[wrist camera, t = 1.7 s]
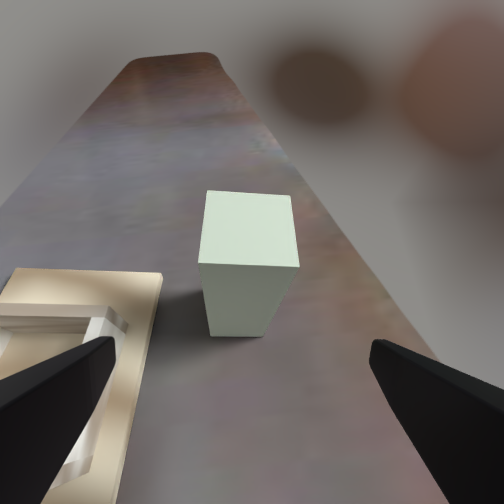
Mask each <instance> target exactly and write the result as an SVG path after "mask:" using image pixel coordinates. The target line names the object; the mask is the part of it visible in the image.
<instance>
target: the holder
mask: <svg viewBox="0 0 504 504" xmlns="http://www.w3.org/2000/svg"><path fill="white" fill-rule="evenodd" d="M162 280H163V277H162V275H161V273H145V272H117V271H89V270H61V269H33V268H16V269H15V271H14V273H13V274H12V276H11V278H10V279H9V281H8V283H7V285H6V286H5V288H4V290H3V291H2V293H1V295H0V380H1V379H3V378H6V377H8V376H10V375H13V374H15V373H17V372H19V371H22V370H24V369H26V368H29V367H31V366H33V365H35V364H38V363H40V362H42V361H45V360H47V359H49V358H51V357H54V356H56V355H58V354H61V353H63V352H65V351H67V350H70V349H72V348H74V347H77V346H79V345H81V344H83V343H86V342H88V341H90V340H93V339H95V338H97V337H100V336H112V337H114V339H115V348H116V363H115V366H114V369H113V371H112V373H111V375H110V378H109V380H108V382H107V384H106V386H105V388H104V391H103V393H102V395H101V397H100V399H99V402H98V404H97V406H96V408H95V410H94V412H93V414H92V416H91V418H90V419H89V421H88V423H87V425H86V426H85V428H84V430H83V431H82V433H81V435H80V437H79V438H78V440H77V442H76V444H75V445H74V447H73V449H72V450H71V452H70V454H69V456H68V457H67V459H66V461H65V462H64V464H63V466H62V468H61V469H60V471H59V473H58V475H57V476H56V478H55V480H54V481H53V483H52V485H51V487H50V488H49V490H48V492H47V493H46V495H45V497H44V499H43V500H42V502H41V504H116V499H117V494H118V489H119V485H120V480H121V475H122V470H123V466H124V461H125V456H126V451H127V447H128V442H129V437H130V432H131V428H132V423H133V418H134V413H135V409H136V404H137V399H138V394H139V390H140V385H141V380H142V375H143V371H144V366H145V361H146V356H147V352H148V347H149V342H150V337H151V333H152V328H153V323H154V318H155V314H156V309H157V304H158V299H159V295H160V290H161V285H162Z"/></svg>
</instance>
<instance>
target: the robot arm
mask: <svg viewBox="0 0 504 504" xmlns="http://www.w3.org/2000/svg"><path fill="white" fill-rule="evenodd" d="M115 363H116V348H115V339H114V337H112V336H100V337H97V338H95V339H93V340H90V341H88V342H86V343H83V344H81V345H79V346H77V347H74V348H72V349H70V350H67V351H65V352H63V353H61V354H58V355H56V356H54V357H51V358H49V359H47V360H45V361H42V362H40V363H38V364H35V365H33V366H31V367H29V368H26V369H24V370H22V371H19V372H17V373H15V374H13V375H10V376H8V377H6V378H3V379H1V380H0V504H41V502H42V500H43V499H44V497H45V495H46V493H47V492H48V490H49V488H50V487H51V485H52V483H53V481H54V480H55V478H56V476H57V475H58V473H59V471H60V469H61V468H62V466H63V464H64V462H65V461H66V459H67V457H68V456H69V454H70V452H71V450H72V449H73V447H74V445H75V444H76V442H77V440H78V438H79V437H80V435H81V433H82V431H83V430H84V428H85V426H86V425H87V423H88V421H89V419H90V418H91V416H92V414H93V412H94V410H95V408H96V406H97V404H98V402H99V399H100V397H101V395H102V393H103V391H104V388H105V386H106V384H107V382H108V380H109V378H110V375H111V373H112V371H113V369H114V366H115ZM369 364H370V367H371V369H372V371H373V373H374V375H375V377H376V379H377V381H378V383H379V385H380V387H381V389H382V391H383V393H384V395H385V397H386V399H387V401H388V403H389V405H390V407H391V409H392V411H393V412H394V414H395V416H396V417H397V419H398V421H399V422H400V424H401V425H402V427H403V429H404V430H405V432H406V434H407V435H408V437H409V439H410V440H411V442H412V443H413V445H414V447H415V448H416V450H417V452H418V453H419V455H420V456H421V458H422V460H423V461H424V463H425V465H426V466H427V468H428V470H429V471H430V473H431V474H432V476H433V478H434V479H435V481H436V483H437V484H438V486H439V487H440V489H441V491H442V492H443V494H444V496H445V497H446V499H447V500H448V502H449V504H504V390H503V389H501V388H498V387H496V386H494V385H491V384H489V383H487V382H484V381H482V380H480V379H477V378H475V377H472V376H470V375H468V374H465V373H463V372H460V371H458V370H456V369H454V368H451V367H449V366H447V365H444V364H442V363H440V362H437V361H435V360H433V359H430V358H428V357H426V356H423V355H421V354H419V353H416V352H414V351H412V350H409V349H407V348H404V347H402V346H400V345H397V344H395V343H393V342H390V341H388V340H385V339H375V340H373V342H372V346H371V351H370V357H369Z"/></svg>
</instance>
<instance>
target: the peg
mask: <svg viewBox="0 0 504 504" xmlns="http://www.w3.org/2000/svg"><path fill="white" fill-rule="evenodd" d="M198 265H199V271H200V277H201V283H202V289H203V295H204V301H205V307H206V313H207V319H208V324H209V330H210V336H228V337H263V336H264V334H265V332H266V330H267V328H268V326H269V324H270V322H271V320H272V319H273V317H274V315H275V313H276V311H277V309H278V307H279V305H280V303H281V301H282V299H283V298H284V296H285V294H286V292H287V290H288V288H289V286H290V284H291V282H292V280H293V278H294V276H295V275H296V273H297V271H298V269H299V260H298V252H297V245H296V237H295V230H294V222H293V215H292V207H291V200H290V196H285V195H270V194H254V193H239V192H224V191H209V190H207V197H206V205H205V213H204V221H203V228H202V236H201V244H200V252H199V260H198Z"/></svg>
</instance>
